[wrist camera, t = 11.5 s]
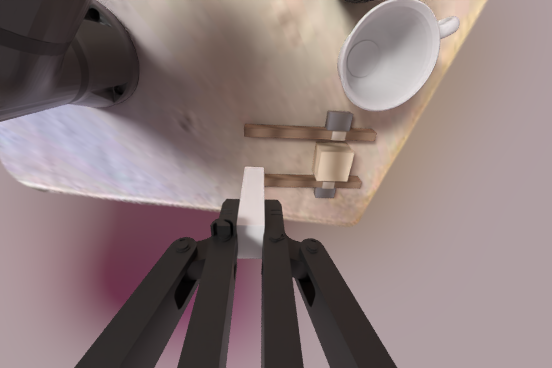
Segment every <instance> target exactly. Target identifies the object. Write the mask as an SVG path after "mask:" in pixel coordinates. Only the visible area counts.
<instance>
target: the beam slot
mask: <svg viewBox="0 0 552 368" xmlns="http://www.w3.org/2000/svg"><path fill="white" fill-rule="evenodd" d="M352 117H353V114H352V113H350V112H345V111H328V113H327V119H326V124H325V127H309V126H282V125H256V124H245V127H244V136H245V137H275V138H304V139H331V140H339V141H344V140H363V141H375V138H376V135H377V133H376V132H375V131H374V130H372V129H363V128H350V126H351V121H352ZM361 183H362V182H361V180H360V179H359V178H358V176H348V180H347V181H316V178H315V175H283V174H264V186H274V187H315V188H314V195H315V198H334V194H335V189H336V188H360V187H361Z"/></svg>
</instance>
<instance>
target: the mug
mask: <svg viewBox="0 0 552 368" xmlns="http://www.w3.org/2000/svg"><path fill="white" fill-rule="evenodd" d="M345 1H347V2H351V3H362V2H368V1H372V0H345Z"/></svg>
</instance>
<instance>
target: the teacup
mask: <svg viewBox="0 0 552 368" xmlns="http://www.w3.org/2000/svg"><path fill="white" fill-rule="evenodd" d="M459 23H460V21H459V18H458V17H456V16H452V17H448V18H444V19H441V20H439V21H437V19H436V16H435V14H434V13H433V11H432V10H431V9H430V8H429V7H428V6H427V5H426V4H425V3H423V2H421V1H419V0H388V1H385V2H383V3H381V4H379V5H377V6H376V7H374V8H373V9H371V10H370V11H369V12H368V13H367V14H366V15H364V17H363V18H362V19H361V20H360V21H359V22H358V23H357V25H356V26H355V28H354V29H353V31H352V32H351V34H350V35H349V36H348V37H347V38H346V40H345V41H344V43H343V45H342V47H341V49H340V52H339V56H338V62H337V68H338V74H339V77H340V80H341V82H342V86H343V89H344V91H345V93H346V95H347V97H348V98H349V99H350V100H351V102H353V103H354V104H355V105H356V106H358V107H359V108H362V109H364V110H368V111H385V110H389V109H393V108H395V107H397V106H399V105H401V104H403V103H405V102H406V101H407V100H409V99H410V98H411V97H412V96H414V95H415V94H416V93H417V92H418V91H419V90H420V88H421V87H422V86H423V85H424V84H425V82H426V81H427V79H428V78H429V76H430V74H431V73H432V71H433V69H434V66H435V64H436V61H437V58H438V54H439V49H440V39H442V38H445V37H447V36H449V35H451V34H453V33H454V32H456V31H457V29H458V28H459Z"/></svg>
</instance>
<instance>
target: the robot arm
mask: <svg viewBox="0 0 552 368" xmlns="http://www.w3.org/2000/svg"><path fill="white" fill-rule="evenodd" d="M138 78H139V63H138V58H137V54H136V51H135V48H134V46H133V43H132V41H131V39H130V37H129V35H128V34H127V32H126V30H125V29H124V28H123V26H122V25H121V23H120V22H119V21H118V20H117V19H116V17H115V16H114V15H113V14H112V13H111V12H110V11H109V10H108V9H106V8H105V7H104V6H103V5H102V4H100V3H99V2H98V1H96V0H0V122H2V121H5V120H9V119H13V118H17V117H21V116H24V115H28V114H32V113H36V112H39V111H43V110H47V109H51V108H54V107H58V106H62V105H66V104H73V105H80V106H88V107H108V106H112V105H115V104H118V103H120V102H123V101H124V100H126V99H127V98H129V97H130V96H131V94H132V93H133V92H134V90H135V88H136V86H137V83H138ZM210 226H211V235H212V236H211V237H209V238H207V239H205V240H202V241H198V242H196V241H195V240H194V239H192V238H190V237H189V238H188V237H184V238H180V239H178V240H176V241H174V242H173V243H172V244H171V245H170V247H169V248H168V249H167V250H166V252H165V253H164V254H163V255H162V257H161V258H160V259H159V261H158V262H157V263H156V264H155V266H154V267H153V268H152V269H151V271H150V272H149V273H148V275H147V276H146V277H145V278H144V280H143V281H142V282H141V284H140V285H139V286H138V287H137V289H136V290H135V291H134V292H133V294H132V295H131V296H130V298H129V299H128V300H127V301H126V303H125V304H124V305H123V306H122V308H121V309H120V310H119V311H118V313H117V314H116V315H115V317H114V318H113V319H112V320H111V322H110V323H109V324H108V325H107V327H106V328H105V329H104V331H103V332H102V333H101V335H100V336H99V337H98V338H97V339H96V341H95V342H94V343H93V345H92V346H91V347H90V349H89V350H88V351H87V352H86V353H85V355H84V356H83V357H82V359H81V360H80V361H79V362H78V364H77V365H76V366H75V367H74V368H154V367H155V365H156V363H157V361H158V360H159V358H160V356H161V354H162V352H163V350H164V348H165V346H166V345H167V343H168V341H169V339H170V337H171V335H172V333H173V331H174V329H175V328H176V326H177V324H178V322H179V320H180V318H181V316H182V314H183V313H184V311H185V309H186V307H187V305H188V303H189V301H190V299H191V297H192V295H193V294H194V292H195V290H196V288H197V286H198V284H199V287H198V291H197V295H196V299H195V302H194V306H193V310H192V314H191V318H190V321H189V325H188V329H187V333H186V337H185V340H184V344H183V348H182V352H181V356H180V359H179V363H178V367H177V368H226V361H227V352H228V343H229V333H230V325H231V316H232V307H233V298H234V289H235V280H236V272H237V258H256V259H257V258H258V259H262V271H261V274H262V318H261V321H262V322H261V324H262V325H261V327H262V329H261V334H262V335H261V368H304V367H303V359H302V351H301V343H300V335H299V327H298V319H297V312H296V304H295V296H294V288H293V281H292V277H294V278H295V281H296V283H297V286H298V288H299V291H300V293H301V295H302V298H303V301H304V303H305V306H306V308H307V311H308V313H309V316H310V318H311V321H312V323H313V326H314V328H315V331H316V333H317V336H318V338H319V341H320V343H321V346H322V348H323V351H324V353H325V356H326V358H327V361H328V363H329V366H330V368H397V367H396V365H395V363H394V362H393V360H392V359H391V357H390V356H389V354H388V352H387V350H386V349H385V347H384V345H383V344H382V342H381V341H380V339H379V337H378V336H377V334H376V332H375V330H374V329H373V327H372V325H371V324H370V322H369V320H368V319H367V317H366V316H365V314H364V312H363V311H362V309H361V307H360V306H359V304H358V302H357V301H356V299H355V297H354V296H353V294H352V292H351V291H350V289H349V287H348V286H347V284H346V282H345V281H344V279H343V278H342V276H341V274H340V273H339V271H338V269H337V268H336V266H335V264H334V263H333V261H332V259H331V258H330V256H329V254H328V253H327V251H326V250H325V248H324V246H323V245H322V244H321V242H319V241H318V240H315V239H305V240H303V241H302V242H298V241H295V240H292V239H291V238H289V237H288V236H287V235H286V233H285V231H284V223H283V215H282V206H281V204H280V202H279V201H278V200H264V167H245V170H244V177H243V184H242V191H241V197H240V199H226V201H225V202H224V203H223V204H222V208H221V212H220V216H219V219H216V220H215V221H213V222H212V224H211V225H210ZM199 282H200V283H199Z"/></svg>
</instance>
